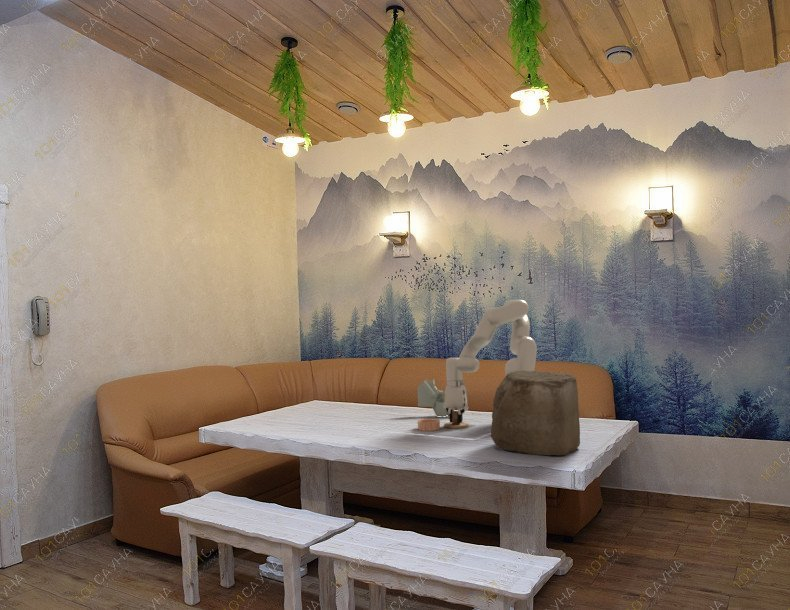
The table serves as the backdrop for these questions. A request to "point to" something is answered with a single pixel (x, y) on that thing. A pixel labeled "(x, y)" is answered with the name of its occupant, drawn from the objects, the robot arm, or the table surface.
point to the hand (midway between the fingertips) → (456, 421)
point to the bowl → (429, 424)
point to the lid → (455, 422)
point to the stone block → (536, 413)
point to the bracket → (432, 397)
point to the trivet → (458, 429)
